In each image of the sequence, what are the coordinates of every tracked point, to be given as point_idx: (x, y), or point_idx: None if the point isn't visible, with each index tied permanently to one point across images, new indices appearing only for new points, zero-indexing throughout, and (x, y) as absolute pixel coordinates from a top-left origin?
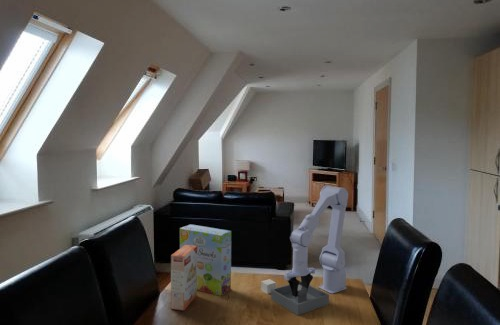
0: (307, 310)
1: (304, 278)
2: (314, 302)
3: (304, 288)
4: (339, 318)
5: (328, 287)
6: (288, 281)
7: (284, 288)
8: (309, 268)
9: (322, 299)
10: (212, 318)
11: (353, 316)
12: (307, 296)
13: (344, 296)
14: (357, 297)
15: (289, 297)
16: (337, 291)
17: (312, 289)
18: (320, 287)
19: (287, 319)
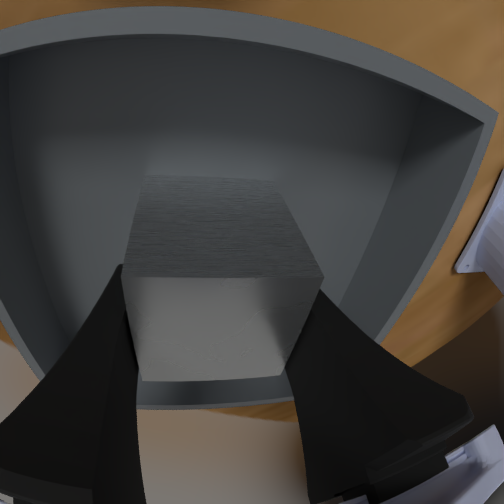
0: None
1: (335, 449)
2: (206, 388)
3: (255, 372)
4: (231, 407)
5: (489, 254)
6: (20, 423)
7: (173, 35)
8: (485, 487)
9: (281, 384)
10: None
11: (286, 408)
12: (331, 227)
13: (444, 306)
14: (449, 329)
15: (167, 136)
16: (477, 271)
17: (397, 274)
18: (500, 187)
19: (4, 337)
